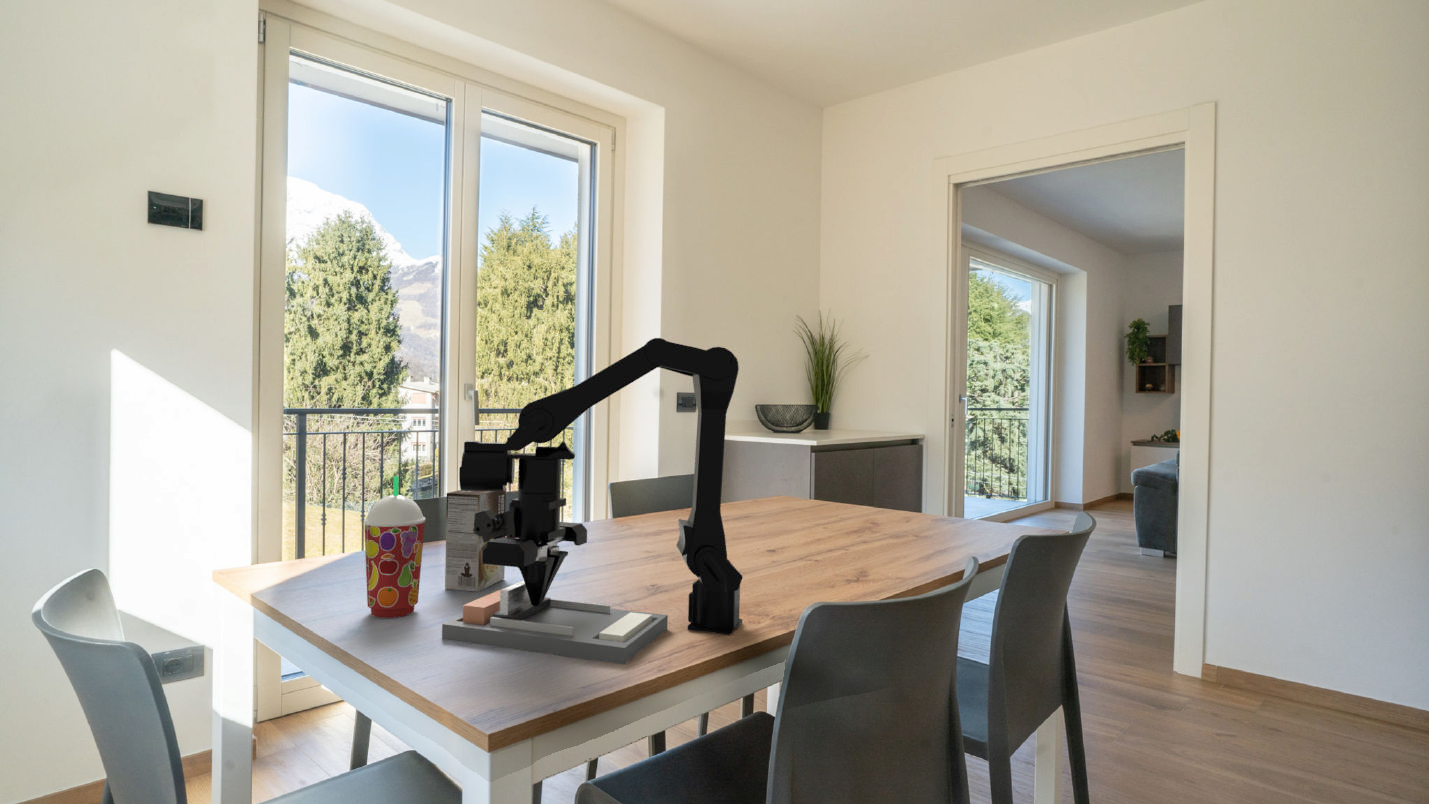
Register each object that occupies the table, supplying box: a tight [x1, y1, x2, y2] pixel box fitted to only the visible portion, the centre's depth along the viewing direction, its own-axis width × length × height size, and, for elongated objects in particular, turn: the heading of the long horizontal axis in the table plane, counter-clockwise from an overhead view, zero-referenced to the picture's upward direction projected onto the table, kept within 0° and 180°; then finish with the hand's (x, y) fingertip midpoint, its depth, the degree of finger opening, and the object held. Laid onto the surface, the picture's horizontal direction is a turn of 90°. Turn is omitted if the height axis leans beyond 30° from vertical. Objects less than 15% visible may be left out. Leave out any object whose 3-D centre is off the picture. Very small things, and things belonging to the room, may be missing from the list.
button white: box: [599, 612, 652, 643], centre depth 100 cm, size 3×10×2 cm, turn 163°
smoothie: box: [363, 475, 426, 619], centre depth 111 cm, size 8×8×20 cm
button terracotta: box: [462, 587, 505, 625], centre depth 106 cm, size 3×10×2 cm, turn 163°
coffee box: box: [444, 487, 507, 593], centre depth 129 cm, size 9×6×16 cm
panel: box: [441, 598, 669, 665], centre depth 103 cm, size 26×15×3 cm, turn 73°
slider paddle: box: [493, 579, 552, 620], centre depth 105 cm, size 3×10×4 cm, turn 163°
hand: (536, 605), depth 104 cm, fingers closed, pressing on slider paddle
